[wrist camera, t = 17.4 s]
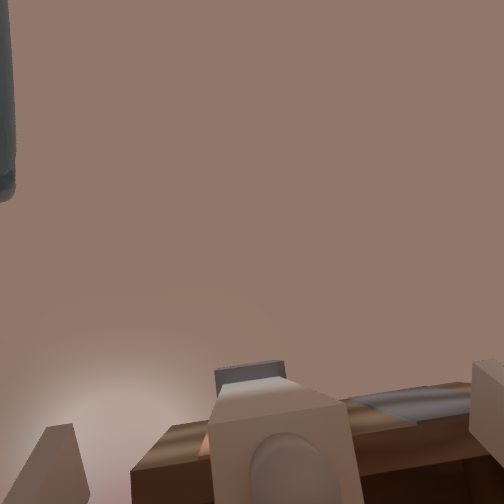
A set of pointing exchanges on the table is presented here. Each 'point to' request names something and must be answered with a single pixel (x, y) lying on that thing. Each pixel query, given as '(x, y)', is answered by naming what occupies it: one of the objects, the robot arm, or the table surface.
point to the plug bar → (279, 441)
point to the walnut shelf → (357, 453)
